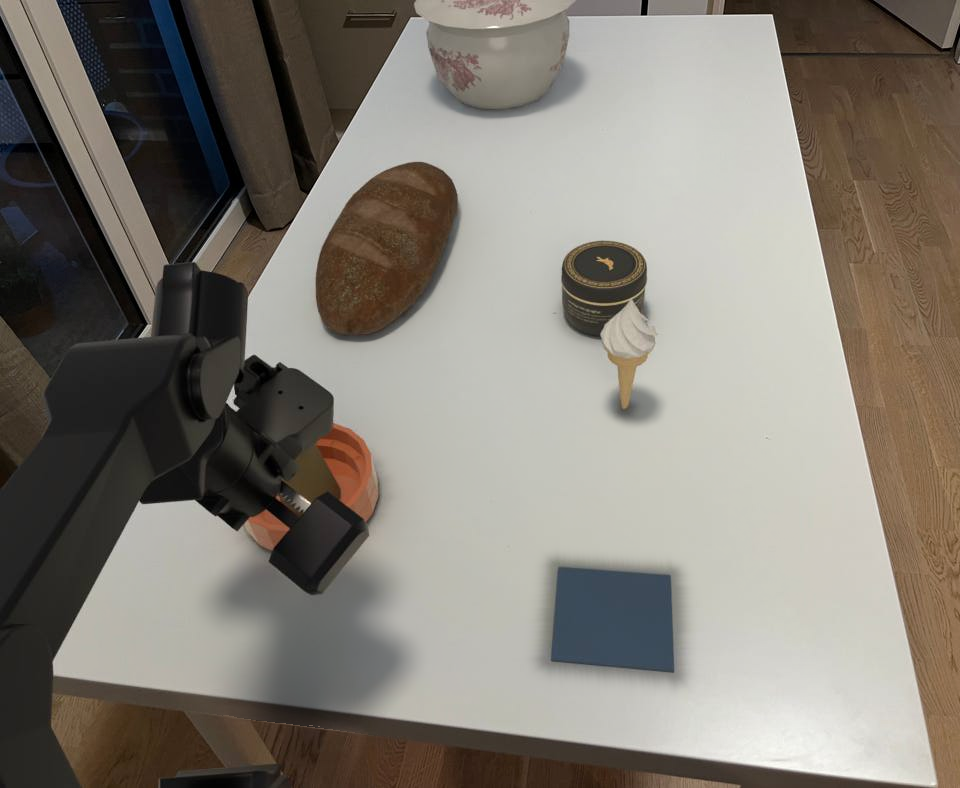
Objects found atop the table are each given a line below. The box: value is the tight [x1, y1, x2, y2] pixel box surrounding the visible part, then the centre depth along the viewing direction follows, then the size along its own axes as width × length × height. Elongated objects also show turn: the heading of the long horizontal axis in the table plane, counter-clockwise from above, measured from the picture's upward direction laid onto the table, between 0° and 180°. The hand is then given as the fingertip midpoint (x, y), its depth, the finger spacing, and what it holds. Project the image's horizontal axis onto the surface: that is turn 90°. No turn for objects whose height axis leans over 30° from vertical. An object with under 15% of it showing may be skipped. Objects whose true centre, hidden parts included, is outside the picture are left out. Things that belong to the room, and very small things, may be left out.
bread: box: [315, 161, 459, 336], centre depth 107 cm, size 16×36×8 cm, turn 168°
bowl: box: [243, 422, 379, 552], centre depth 79 cm, size 14×14×4 cm
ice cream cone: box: [600, 299, 659, 410], centre depth 81 cm, size 6×6×15 cm
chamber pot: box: [413, 0, 577, 110], centre depth 137 cm, size 28×28×21 cm
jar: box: [560, 240, 648, 337], centre depth 95 cm, size 10×10×8 cm
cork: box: [280, 443, 341, 517], centre depth 76 cm, size 6×6×11 cm
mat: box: [550, 566, 675, 673], centre depth 68 cm, size 10×9×1 cm
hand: (279, 513), depth 65 cm, fingers open, 9 cm apart
